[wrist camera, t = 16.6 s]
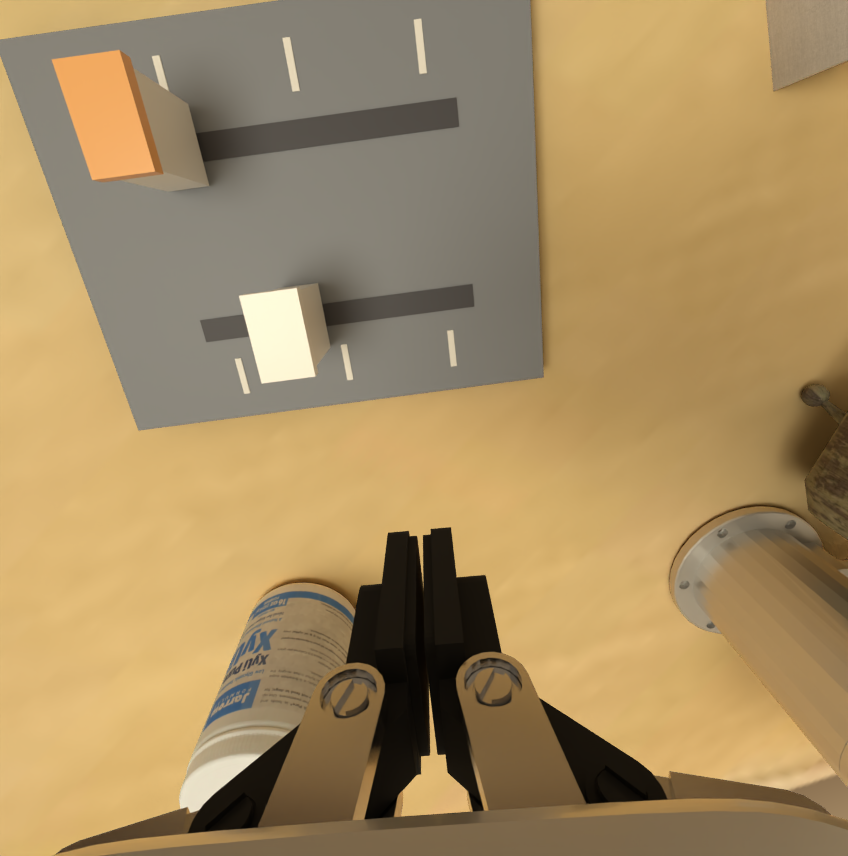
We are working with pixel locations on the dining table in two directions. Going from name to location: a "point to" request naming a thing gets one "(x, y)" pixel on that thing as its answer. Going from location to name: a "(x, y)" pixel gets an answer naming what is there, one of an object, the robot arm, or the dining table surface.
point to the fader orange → (130, 124)
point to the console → (311, 199)
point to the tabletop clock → (829, 468)
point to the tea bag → (806, 38)
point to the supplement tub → (268, 682)
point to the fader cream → (286, 331)
